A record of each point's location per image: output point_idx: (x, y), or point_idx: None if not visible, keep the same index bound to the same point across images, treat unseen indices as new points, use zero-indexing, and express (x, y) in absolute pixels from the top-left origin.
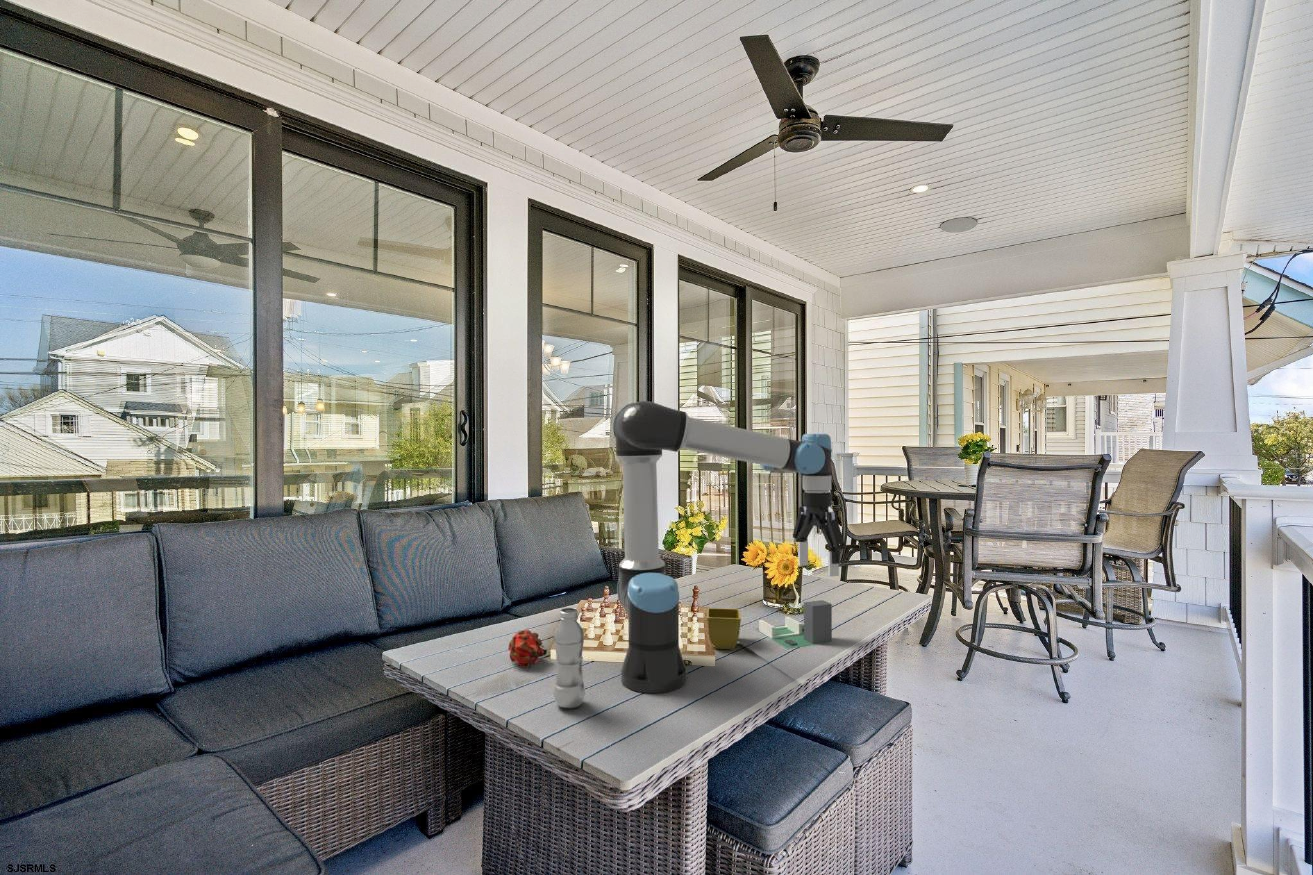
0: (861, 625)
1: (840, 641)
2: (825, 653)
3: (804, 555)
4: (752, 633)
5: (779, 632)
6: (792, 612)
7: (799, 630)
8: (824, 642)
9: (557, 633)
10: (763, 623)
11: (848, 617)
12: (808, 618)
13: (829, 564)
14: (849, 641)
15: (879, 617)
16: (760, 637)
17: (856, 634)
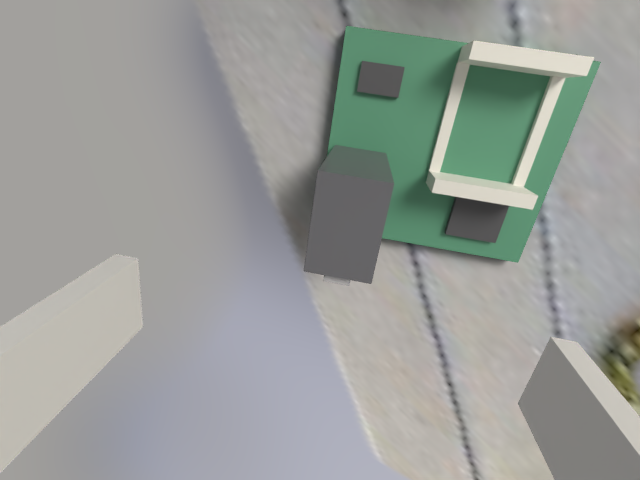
0: (403, 393)
1: None
2: (286, 147)
3: (580, 460)
4: (594, 51)
5: (494, 125)
6: (637, 341)
7: (430, 175)
8: None
9: None
10: (550, 52)
11: (472, 418)
12: (355, 162)
13: (40, 309)
14: None
15: (419, 464)
16: None
17: (358, 333)
